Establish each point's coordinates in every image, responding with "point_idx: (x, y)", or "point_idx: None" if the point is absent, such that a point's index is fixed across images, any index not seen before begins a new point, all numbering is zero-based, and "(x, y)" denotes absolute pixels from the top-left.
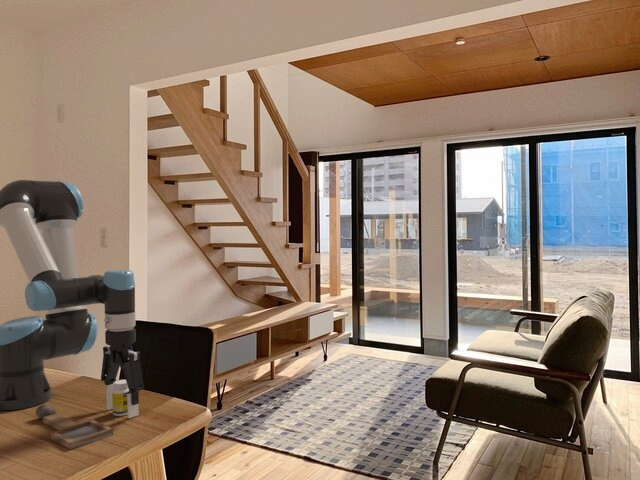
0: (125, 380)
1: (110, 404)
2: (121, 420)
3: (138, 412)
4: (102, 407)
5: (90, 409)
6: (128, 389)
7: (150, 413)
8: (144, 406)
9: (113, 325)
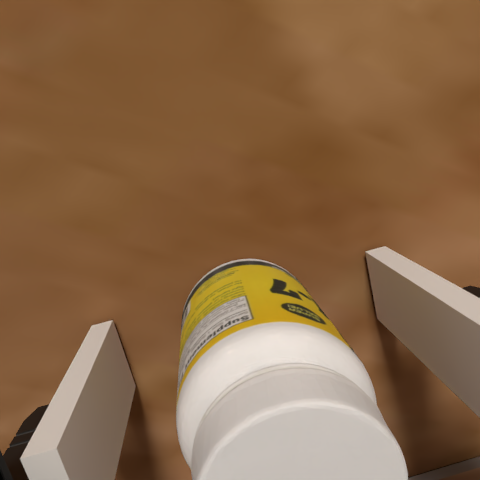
0: (283, 450)
1: (123, 390)
2: (376, 355)
3: (394, 252)
4: (32, 400)
5: None
6: (357, 379)
7: (395, 161)
8: (219, 143)
9: None
